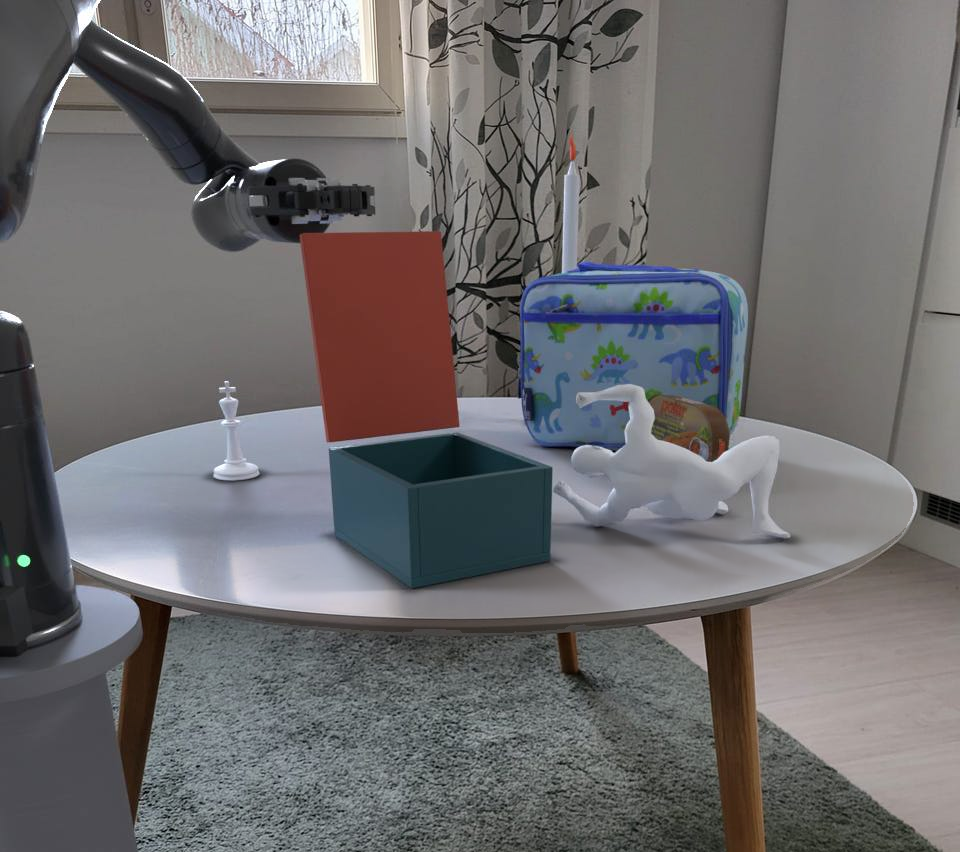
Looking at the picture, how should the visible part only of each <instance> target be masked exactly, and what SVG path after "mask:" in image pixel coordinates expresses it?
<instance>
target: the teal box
mask: <svg viewBox="0 0 960 852" xmlns="http://www.w3.org/2000/svg"><path fill="white" fill-rule="evenodd" d="M328 461H329V474H330V490H331V501H332V502H331V503H332V515H333V516H332V517H333V529H334V532H333V533H334V536H335V537H336V538H338V539H340V540H341V541H342V542H344V543H345V544H347V545H348V546H349V547H350V548H352V549H354V550H355V551H357V552H358V553H360V555H362V556H364V557H366V558H367V559H368V560H370V561H371V562H373V563H374V564H375V565H377V566H378V567H380V568H381V569H383V570H384V571H386V572H387V573H389V575H391V576H393V577H394V578H396V579H397V580H399V581H400V582H401V583H403V584H404V585H406V586H407V587H409V588H410V589H416V588H421V587H428V586H432V585H437V584H441V583H447V582H451V581H456V580H462V579H467V578H473V577H477V576H482V575H488V574H491V573H498V572H501V571H506V570H507V571H508V570H511V569H512V570H513V569H517V568H522V567H526V566H532V565H536V564H542V563H547V562H550V561H551V556H552V555H551V551H552V549H551V548H552V547H551V546H552V513H553V511H552V510H553V509H552V508H553V506H552V505H553V471H554V470H553V466H551V465H548V464H546V463H543V462H540V461H538V460H535V459H531V458H529V457H526V456H523V455H521V454H518V453H516V452H514V451H513V452H512V451H510V450H507V449H504V448H501V447H499V446H497V445H493V444H491V443H489V442H486V441H482V440H480V439H477V438H475V437H471V436H469V435H466V434H464V433H460V432H458V431H457V432H449V433H441V434H431V435H424V436H414V437H409V438H399V439H389V440H383V441H374V442H367V443H366V442H365V443H358V444H350V445H341V446H333V447H329V448H328Z"/></svg>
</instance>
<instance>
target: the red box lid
mask: <svg viewBox="0 0 960 852" xmlns="http://www.w3.org/2000/svg"><path fill="white" fill-rule="evenodd" d="M299 244H300V251H301V257H302V258H301V259H302V264H303V265H302V266H303V271H304V272H303V274H304V281H305V288H306V296H307V297H306V298H307V301H308V302H307V305H308V312H309V318H310V326H311V327H310V328H311V333H312V343H313V349H314V350H313V351H314V357H315V364H316V373H317V380H318V381H317V382H318V387H319V394H320V402H321V410H322V417H323V425H324V433H325V441H326V443H337V442H338V443H339V442H345V441H354V440H362V439H371V438H379V437H388V436H389V437H390V436H398V435H405V434H412V433H413V434H414V433H422V432H430V431H438V430H439V431H440V430H446V429H447V430H448V429H455V428H460V417H459V406H458V395H457V394H458V393H457V384H456V374H455V363H454V352H453V343H452V342H453V341H452V334H451V333H452V332H451V322H450V311H449V310H450V309H449V301H448V291H447V281H446V279H447V278H446V271H445V270H446V269H445V259H444V250H443V249H444V248H443V237H442V231H440V230H431V231H430V230H429V231H427V230H424V231H423V230H422V231H361V232H360V231H359V232H354V231H353V232H352V231H351V232H324V233H302V234H300V243H299Z"/></svg>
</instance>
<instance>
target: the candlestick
mask: <svg viewBox="0 0 960 852" xmlns="http://www.w3.org/2000/svg"><path fill="white" fill-rule="evenodd" d="M568 144H569V146H570V148H569V159H570V163H569V168H568V171H567V174H564V181H563V184H564V185H563V216H562V217H563V219H562V253H561V254H562V255H561V257H562V259H561V273H567V271H571V270H574V269H577V268H578V266H577V264H578V240H579V239H578V238H579V212H580V211H579V207H580V177H581V175H580V174H578V173H577V168H576V162H575V160H576V156H577V146H576V144H575V143H574V134H573V133H571V135H570V138H569V140H568Z"/></svg>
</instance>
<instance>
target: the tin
mask: <svg viewBox="0 0 960 852" xmlns="http://www.w3.org/2000/svg"><path fill="white" fill-rule="evenodd" d="M647 401H648V402H649V404H650V405H651V407H652V408H653V409H654V415H655V419H654V422H653V425H652V429H651V434H652V435H653V436H654V437H655V438H656V439H657V440H661V441H665V442H669V443H672V444H675V445H678V446H680V447H683V448H685V449H687V450H689V451H691V452H693V453H695V454H697V455H699V456H701V457H702V458H703V459H704V460H705V461H706V462H713V461H715V460H717V459H718V458H719V457H720V456H721V455H722V454H723V453H724V452H726V451H727V450H729V449H730V440H731V439H730V438H731V435H730V432H729V427H728V424H727V421H726V419H725V417H724V415H723V413H722V412H721V411H720V410H719V409H718V408H716V407H714V406H711V405H707V404H704V403H700V402H696V401H693V400H689V399H686V398H682V397H679V396H673V395H660V394H656V395H653V396H651V397H650V398H649V399H648V400H647Z"/></svg>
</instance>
